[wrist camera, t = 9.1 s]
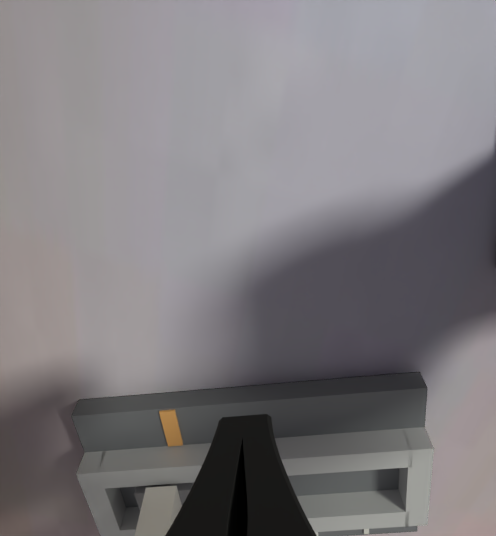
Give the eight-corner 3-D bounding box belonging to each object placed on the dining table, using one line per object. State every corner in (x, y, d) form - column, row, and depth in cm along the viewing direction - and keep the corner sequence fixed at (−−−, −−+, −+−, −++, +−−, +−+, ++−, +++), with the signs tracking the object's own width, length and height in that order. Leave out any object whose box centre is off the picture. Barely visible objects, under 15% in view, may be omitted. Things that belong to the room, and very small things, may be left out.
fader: (193, 460, 25) (178, 563, 20) (203, 505, 27) (192, 610, 22) (138, 464, 26) (111, 567, 21) (152, 508, 27) (129, 613, 22)
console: (419, 372, 24) (437, 408, 22) (411, 512, 29) (424, 554, 27) (78, 399, 25) (61, 437, 23) (125, 531, 30) (115, 572, 28)
